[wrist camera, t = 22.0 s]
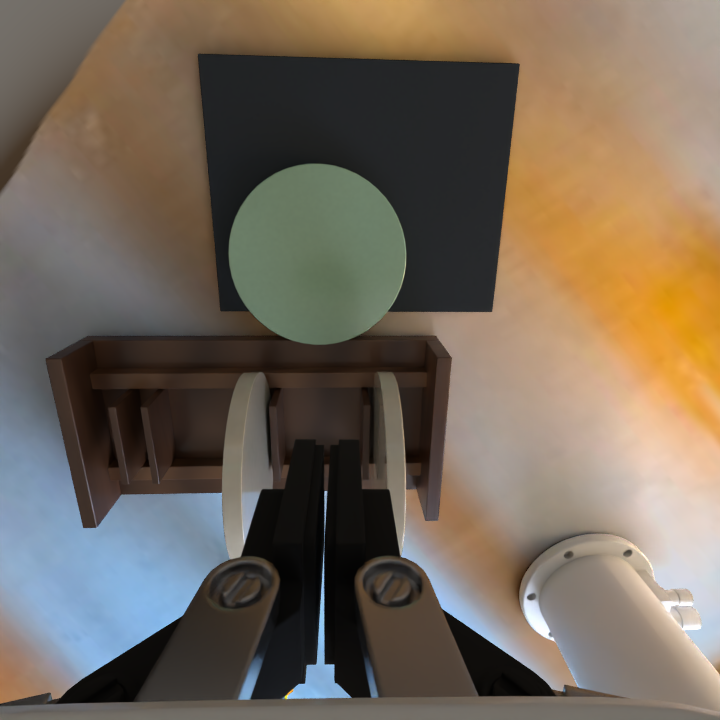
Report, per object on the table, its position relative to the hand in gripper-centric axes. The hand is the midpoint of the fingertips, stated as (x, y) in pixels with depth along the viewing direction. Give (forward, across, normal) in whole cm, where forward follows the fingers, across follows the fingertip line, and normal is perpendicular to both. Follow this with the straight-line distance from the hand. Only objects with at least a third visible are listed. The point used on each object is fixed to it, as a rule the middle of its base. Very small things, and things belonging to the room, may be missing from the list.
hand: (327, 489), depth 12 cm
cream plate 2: (+16, -3, +9) cm, 18 cm away
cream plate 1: (+16, +5, +9) cm, 19 cm away
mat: (+23, -1, -8) cm, 24 cm away
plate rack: (+23, +6, +8) cm, 25 cm away
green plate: (+22, +1, -4) cm, 22 cm away
